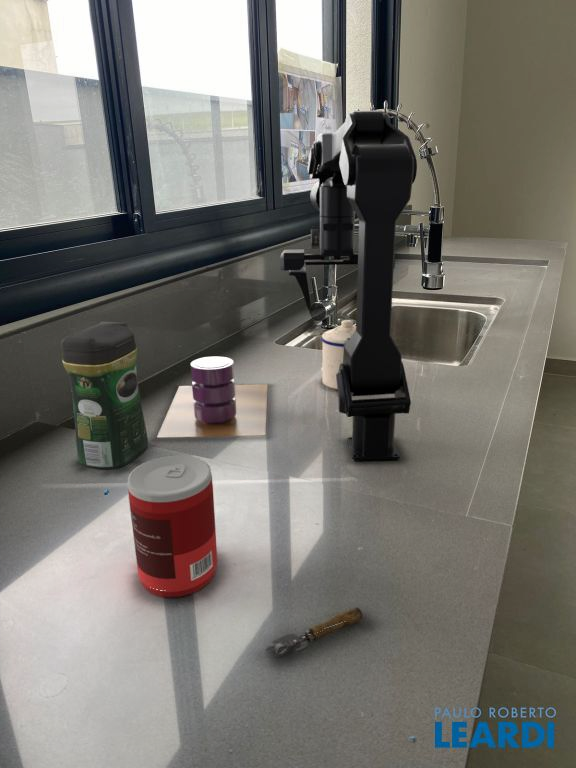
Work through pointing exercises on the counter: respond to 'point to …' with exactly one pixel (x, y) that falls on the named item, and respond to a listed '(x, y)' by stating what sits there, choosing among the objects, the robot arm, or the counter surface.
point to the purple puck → (213, 393)
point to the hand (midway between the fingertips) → (336, 310)
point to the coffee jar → (105, 395)
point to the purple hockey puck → (212, 370)
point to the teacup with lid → (335, 350)
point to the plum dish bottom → (215, 411)
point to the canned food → (173, 524)
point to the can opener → (302, 639)
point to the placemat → (242, 424)
